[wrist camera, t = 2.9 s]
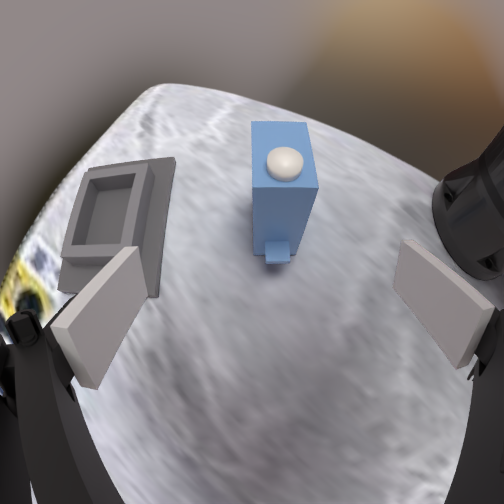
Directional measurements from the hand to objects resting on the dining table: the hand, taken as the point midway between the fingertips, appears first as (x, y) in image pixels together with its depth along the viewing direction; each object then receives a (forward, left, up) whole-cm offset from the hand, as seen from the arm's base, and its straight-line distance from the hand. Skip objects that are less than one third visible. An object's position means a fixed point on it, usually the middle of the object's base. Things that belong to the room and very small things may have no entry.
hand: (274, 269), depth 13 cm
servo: (-4, -7, -12) cm, 15 cm away
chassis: (+10, -15, -12) cm, 22 cm away
